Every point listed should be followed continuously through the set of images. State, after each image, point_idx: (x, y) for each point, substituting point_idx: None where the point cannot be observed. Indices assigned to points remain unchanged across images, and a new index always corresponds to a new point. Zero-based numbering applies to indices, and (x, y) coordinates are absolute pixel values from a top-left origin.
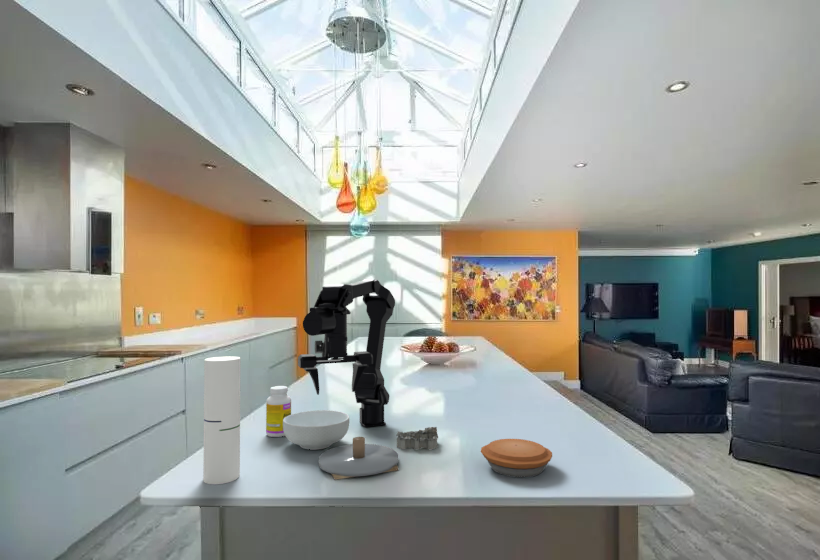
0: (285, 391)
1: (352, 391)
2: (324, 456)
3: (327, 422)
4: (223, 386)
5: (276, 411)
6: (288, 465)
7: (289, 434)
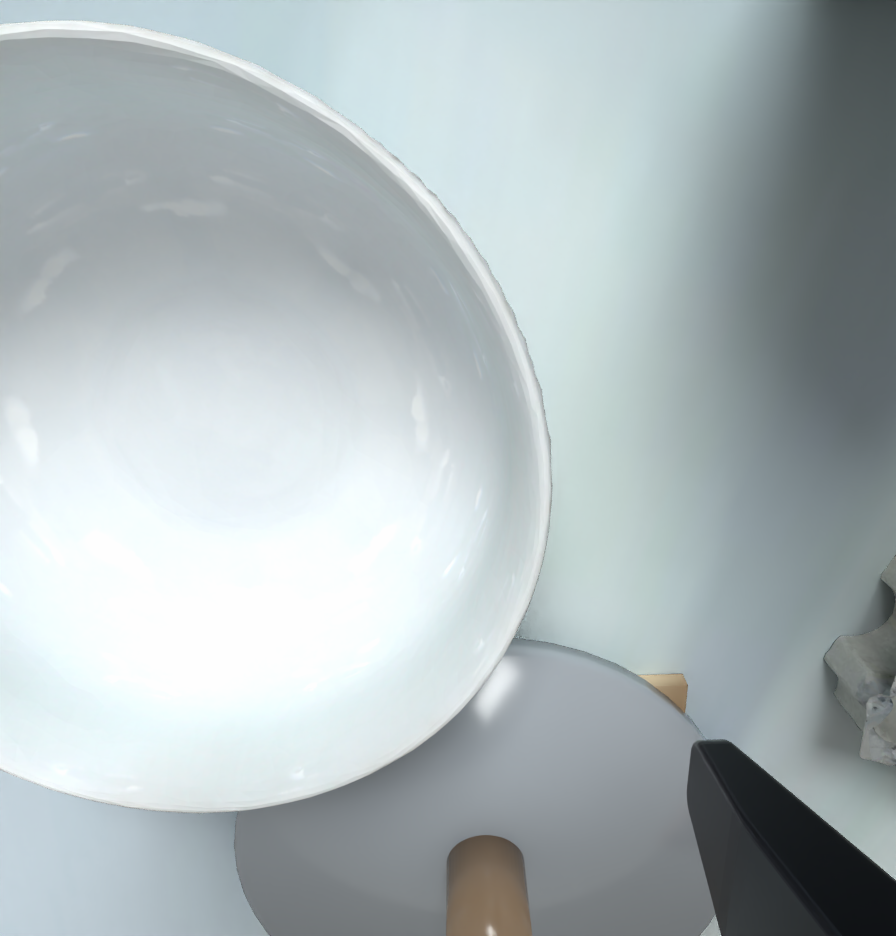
0: None
1: (689, 773)
2: (272, 809)
3: (332, 159)
4: None
5: None
6: None
7: None
